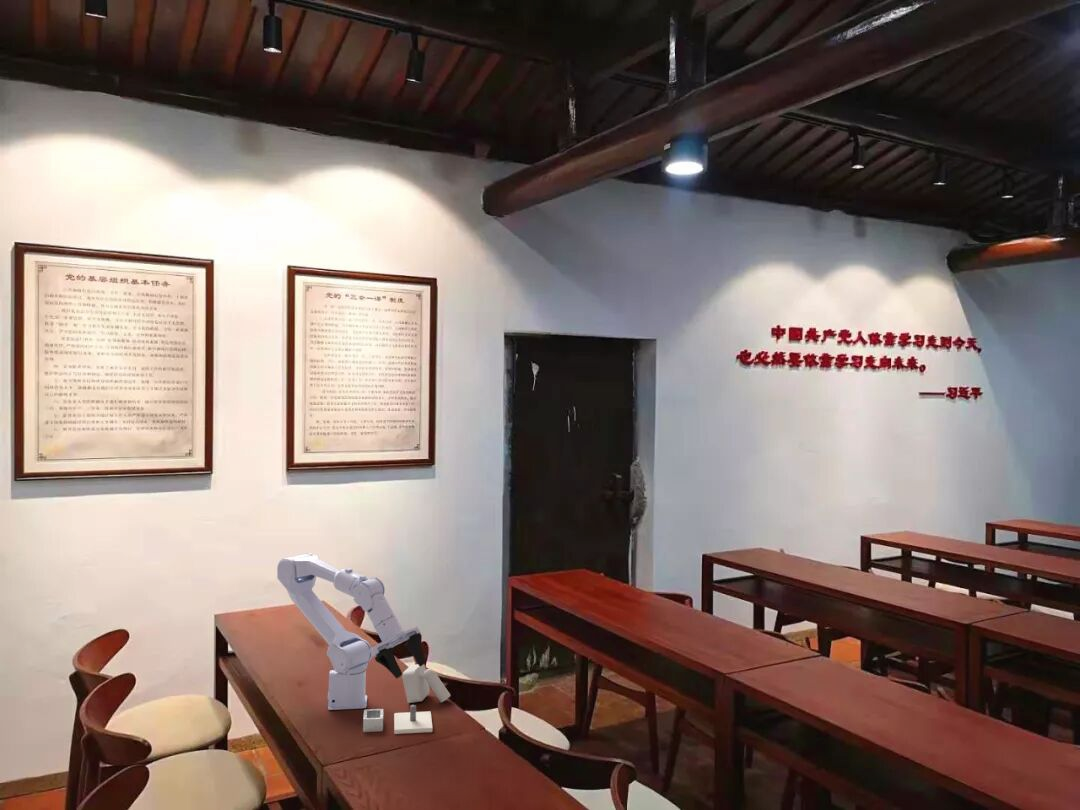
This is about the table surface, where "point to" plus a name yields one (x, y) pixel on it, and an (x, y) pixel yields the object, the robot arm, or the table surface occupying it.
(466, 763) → the table surface
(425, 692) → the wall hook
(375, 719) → the hollow square tube
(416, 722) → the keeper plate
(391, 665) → the robot arm
